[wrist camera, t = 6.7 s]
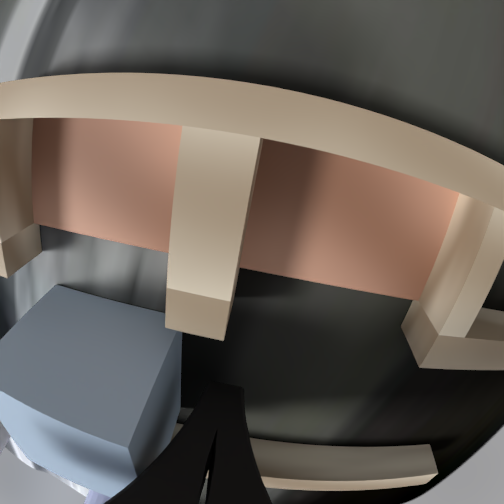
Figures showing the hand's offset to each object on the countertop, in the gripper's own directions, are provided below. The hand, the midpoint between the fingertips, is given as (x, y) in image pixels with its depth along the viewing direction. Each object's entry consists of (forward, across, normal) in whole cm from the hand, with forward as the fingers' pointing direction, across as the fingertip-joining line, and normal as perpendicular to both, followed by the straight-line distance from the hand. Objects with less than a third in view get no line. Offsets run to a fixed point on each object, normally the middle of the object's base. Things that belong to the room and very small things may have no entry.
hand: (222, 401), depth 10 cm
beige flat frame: (+1, +1, -2) cm, 3 cm away
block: (+1, +4, 0) cm, 4 cm away
